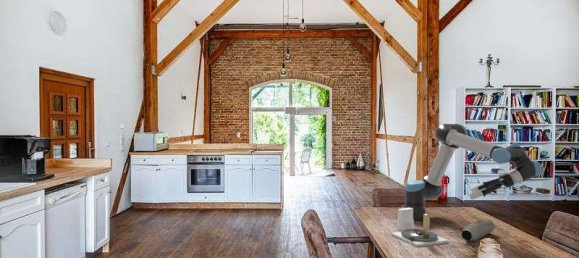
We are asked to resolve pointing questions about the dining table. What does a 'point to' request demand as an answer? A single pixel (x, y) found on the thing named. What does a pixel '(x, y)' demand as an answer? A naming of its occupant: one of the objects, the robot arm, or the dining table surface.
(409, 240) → the base plate
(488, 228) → the thermos bottle
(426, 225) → the cam dial
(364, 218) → the dining table surface
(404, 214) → the cylinder with rectangular tab
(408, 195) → the robot arm
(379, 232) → the dining table surface
